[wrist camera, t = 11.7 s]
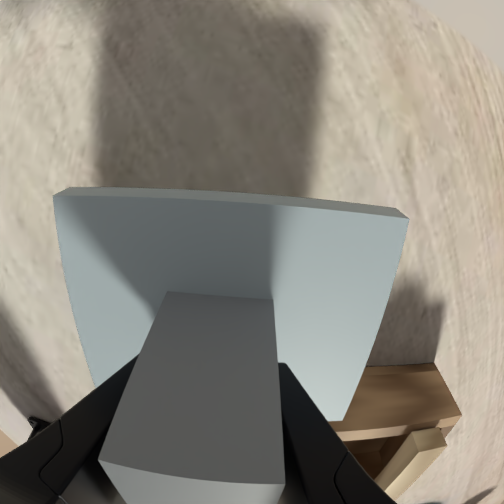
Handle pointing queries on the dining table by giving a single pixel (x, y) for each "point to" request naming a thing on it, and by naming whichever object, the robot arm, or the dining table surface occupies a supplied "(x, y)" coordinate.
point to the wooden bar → (411, 461)
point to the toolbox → (394, 411)
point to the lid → (220, 325)
